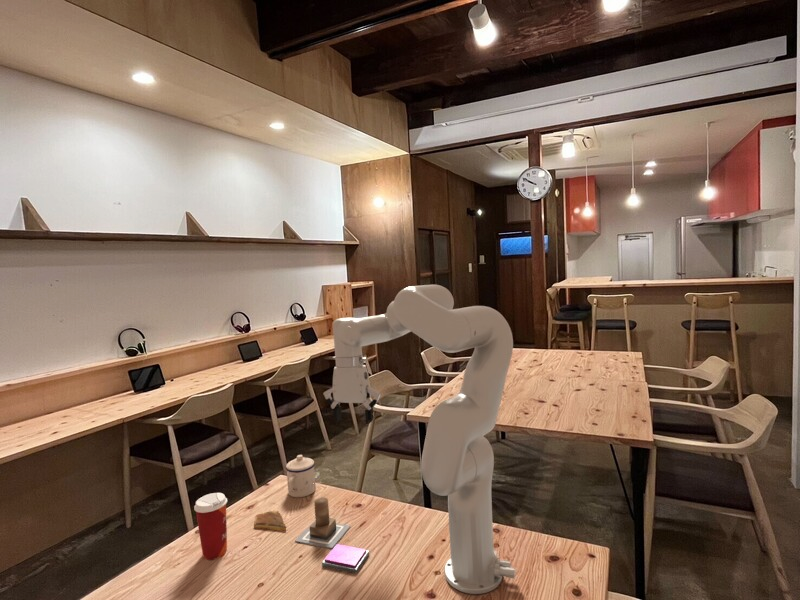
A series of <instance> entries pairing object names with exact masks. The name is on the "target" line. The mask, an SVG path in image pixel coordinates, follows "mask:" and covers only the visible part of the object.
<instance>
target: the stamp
mask: <svg viewBox="0 0 800 600" xmlns="http://www.w3.org/2000/svg"><path fill="white" fill-rule="evenodd" d="M313 505H314V515H315V517H314V519H315V520H313V522H312V523H313V524H312V523H311V524H312V525H311V524H310V525H311V526H310V525H309V526H310V537H313V538H319V539H324V540H327V539H328V538H329V537H330V536H331V535H332V533H333V532H334V531H335V530H336V523H337V521H336V518H330V510H329V509H330V507H329V498H327V497H325V496H324V497H321V496H320V497H318V498H316V499H315V500H314V501H313Z"/></svg>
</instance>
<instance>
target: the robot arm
mask: <svg viewBox="0 0 800 600" xmlns="http://www.w3.org/2000/svg"><path fill="white" fill-rule="evenodd" d="M454 301H455V300H454V297H453V295H452V293H451V291H450V290H449V289H448V288H446V287H444V286H442V285H439V284H424V285H411V286H407V287H405V288H403V289H401V290H400V291H398V293H397V294H396V296H395V297H394V300H392V301H391V302H390V303H389V305H388V306H387V308H386V312H385V313H383V314H377V315H371V316H364V317H358V318H357V317H340V318H336V319H335V320H334V321H333V322H332V330H333V345H334V359H335V366H334V368H333V374H332V387H330V388H329V389H327V390H326V391H324V392H323V396H324V398H325V400H326V402H327V403H328V404H329V406H330V408H331V409H332V415H333V419H334V423H336V424H337V423H338V422H341V420H342V417H343V416H342V407H341V405H340V404H341V403H343V404H344V403H345V404H346V403H347V404H349V403H350V404H362V406H364V408H366V409H365V410H364V415H365V423H366V425H370V423H372V422H373V420H374V407H375V405H377V403H378V402H379V399H380V397H381V396H382V395H381V392H380V391H378V390H376V389H375V388H373V387H372V386H371V382H370V376H369V372H368V369H367V365H366V364H364V363H367V361H368V358H367V357H365V356H364V355H363V352H362V350H363V347H366V346H371V345H377V344H381V343H385V342H389V341H391V340H395V339H398V338H400V337H403V336H404V335H407V334H409V333H411V332H412V334H414V335H416V336H418V338H421V340H424V341H425V342H426V343H428V344H429V345H430V346H432V347H433V348H435V349H437V350H439V351H441V352H445V353H449V354H450V353H451V354H452V353H453V354H454V353H458V352H462V351H467V350H469V349H473V348H474V350H473V353H472V355H471V357H470V358H469V361H468V362H467V365H466V367H465V370H464V373H463V378H462V379H463V380H462V383H461V387H460V390H459V392H457V394H456V395H455V396H452V397H449V398H447V399H445V400H443V401H441V402H440V403H438V405H436V406H435V407H434V409H433V410H432V412H431V413H430V416H429V419H428V422H427V423H428V424H427V427H426V433H425V434H426V435H425V437H424V438H425V439H424V444H423V450H422V454H421V465H420V469H421V471H420V472H421V476H422V479H423V481H424V484H425V485H426V487H427V488H428V489H429V491H431V493H433V494H434V495H438V496H443V497H444V496H446V497H447V508H448V509H447V511H448V527H449V544H450V545H449V547H450V558H449V559H448V560H447V562H446V563H445V564H444V565H445V566H444V577H445V579H446V581H447V582H448V584H449V585H450V586H451V587H453V589H455V590H458V591H460V592H462V593H466V594H468V595H469V594H470V595H482V594H486V593H489V592H491V591H493V590H495V589H496V588H497V587H498V586H500V584H501V583H502V580H503V577H504V578H508V579H509V578H510V579H516V568H515V567H512V566H511V563H512V562H511V561H510V560H503V559H500V558H498V550H495V549H494V548H495V547H494V546H495V545H494V534H493V533H494V529H493V528H494V527H493V510H492V509H493V503H492V502H493V501H492V485H493V484H492V482H493V481H492V480H493V474H494V465H495V462H494V461H495V460H494V459H495V458H494V455H495V454H494V450H493V447H492V444H491V443H490V442H489V440H488V439H487V438H486V437H485V435H487V434H489V433H490V432H492V430H493V429H494V428H495V426H496V423H497V419H498V416H499V410H500V406H501V403H502V398H503V394H504V390H505V385H506V384H505V383H506V380H507V376H508V372H509V368H510V364H511V360H512V357H513V349H514V339H513V332H512V329H511V327H510V325H509V322H508V321H507V320H506V318H505V317H504V316H503V314H501V312H499V311H498V310H496V309H494V308H492V307H490V306H485V305H472V306H467V307H461V308H454V305H455V302H454ZM331 394H332V395H331ZM372 396H373V399H372V400H371V397H372Z"/></svg>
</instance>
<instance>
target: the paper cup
mask: <svg viewBox="0 0 800 600" xmlns="http://www.w3.org/2000/svg"><path fill="white" fill-rule="evenodd" d="M227 503H228V498H227V497H226V496H225V494H224V493H222V492H213V493H211V492H210V493H208V494H205V495H203V496H202V497H200V498H199V497H198V499H197V500H196V501H195V505H194V506H193V507H194V509H193V510H194V511H195V513H196V520H197V526H198V527H197V528H198V535H199V540H200V546H201V547H200V548H201V553H202V558H203V559H205V560H206V561H207V560H208V561H213V560H217V559H219V558H221V557H223V556H224V555H225V554H227V553H226V552H227V549H228V548H227V547H228V540H227V539H228V538H227V537H228V536H227V534H228V532H227V531H228V530H227V523H228V522H227Z"/></svg>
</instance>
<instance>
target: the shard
mask: <svg viewBox="0 0 800 600" xmlns="http://www.w3.org/2000/svg"><path fill="white" fill-rule="evenodd" d="M254 518H255V521H254V524H253V528H255V529H257V528H258V529H266V528H267V529H268V530H272V529H274V531H282V530H284V531H287V526H286V524H285V522H284V519H283V517H282V514H281V513H280V512H279V510H269V511H266V512H263V513H260V514H259V513H258V514H256V515H254ZM261 527H262V528H261ZM267 529H266V530H267Z"/></svg>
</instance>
